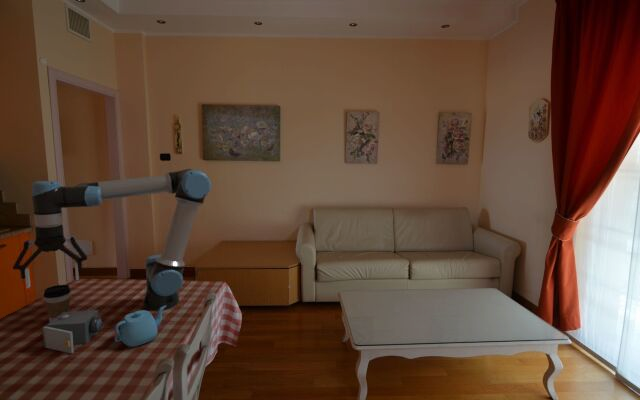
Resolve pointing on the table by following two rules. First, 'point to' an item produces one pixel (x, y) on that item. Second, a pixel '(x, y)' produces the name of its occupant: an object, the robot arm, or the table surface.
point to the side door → (58, 339)
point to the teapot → (138, 327)
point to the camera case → (78, 324)
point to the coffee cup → (57, 300)
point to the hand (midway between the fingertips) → (53, 283)
